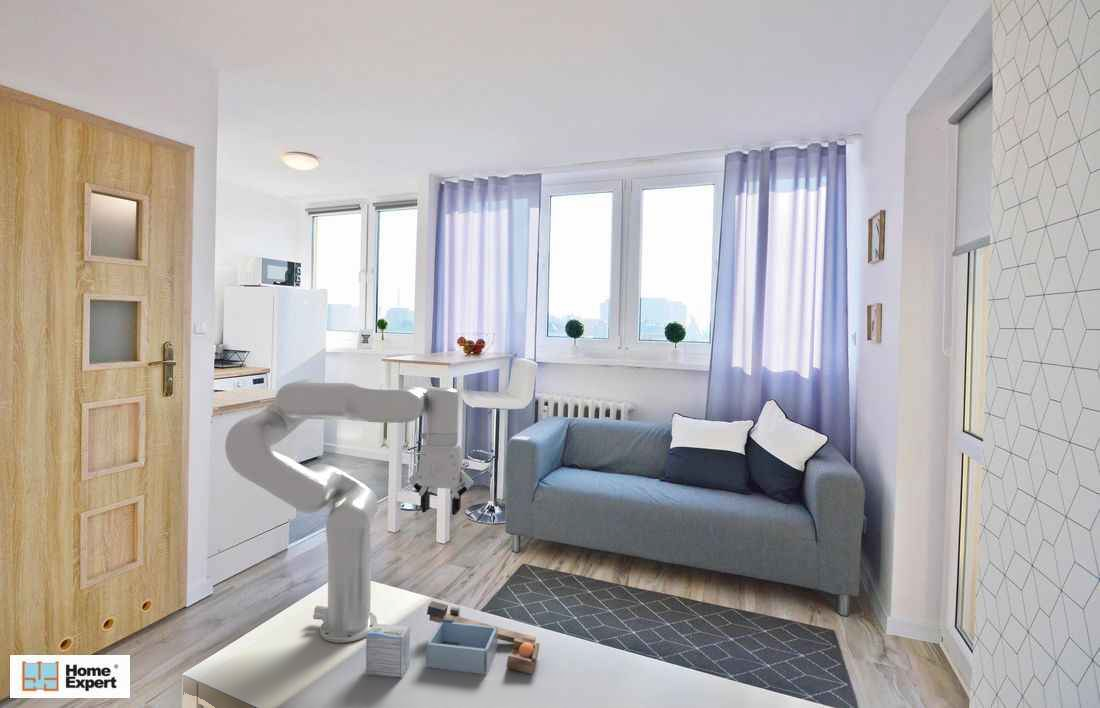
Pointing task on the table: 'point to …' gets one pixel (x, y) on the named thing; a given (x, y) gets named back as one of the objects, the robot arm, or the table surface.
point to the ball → (526, 650)
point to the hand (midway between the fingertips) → (440, 511)
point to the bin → (462, 647)
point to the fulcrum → (449, 620)
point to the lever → (514, 659)
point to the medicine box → (388, 650)
